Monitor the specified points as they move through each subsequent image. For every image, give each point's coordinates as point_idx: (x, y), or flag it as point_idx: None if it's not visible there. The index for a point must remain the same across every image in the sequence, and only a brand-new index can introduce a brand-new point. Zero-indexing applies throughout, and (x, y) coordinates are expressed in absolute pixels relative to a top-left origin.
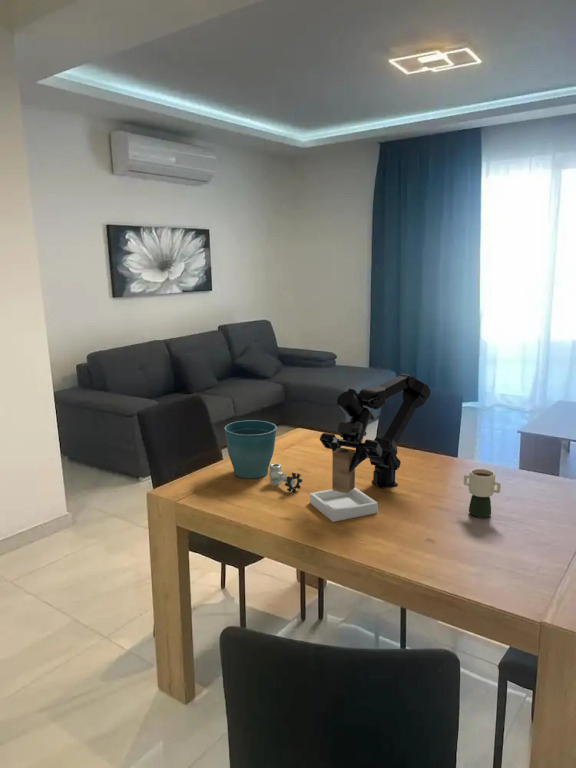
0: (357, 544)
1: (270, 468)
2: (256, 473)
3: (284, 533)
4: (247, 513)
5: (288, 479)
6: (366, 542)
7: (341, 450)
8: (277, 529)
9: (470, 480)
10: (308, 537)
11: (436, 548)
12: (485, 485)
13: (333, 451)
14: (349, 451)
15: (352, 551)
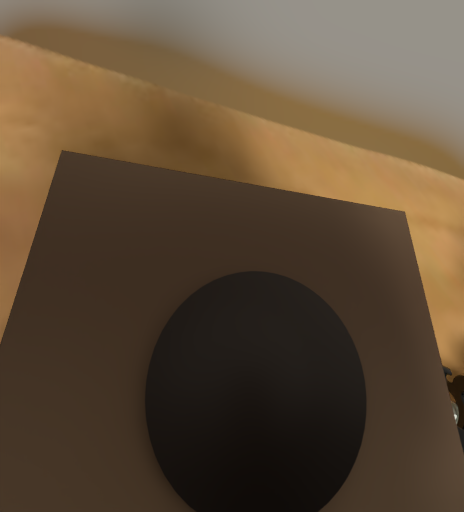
0: (36, 115)
1: None
2: None
3: (255, 127)
4: (389, 194)
5: (460, 376)
6: (7, 131)
7: (324, 360)
8: (281, 140)
9: None
10: (191, 122)
11: None
12: None
13: (412, 243)
14: (89, 423)
15: (43, 80)
